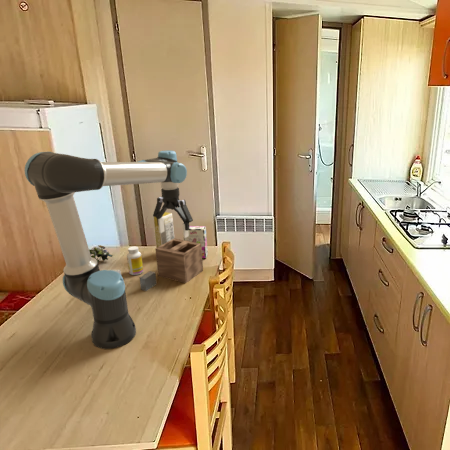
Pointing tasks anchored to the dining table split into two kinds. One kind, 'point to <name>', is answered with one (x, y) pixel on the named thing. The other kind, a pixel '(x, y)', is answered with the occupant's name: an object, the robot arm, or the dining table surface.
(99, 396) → the dining table surface
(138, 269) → the supplement bottle
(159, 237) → the juice carton
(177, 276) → the wooden compartment box
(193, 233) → the candy bar box
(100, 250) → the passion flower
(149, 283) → the grey rectangular block
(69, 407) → the dining table surface
